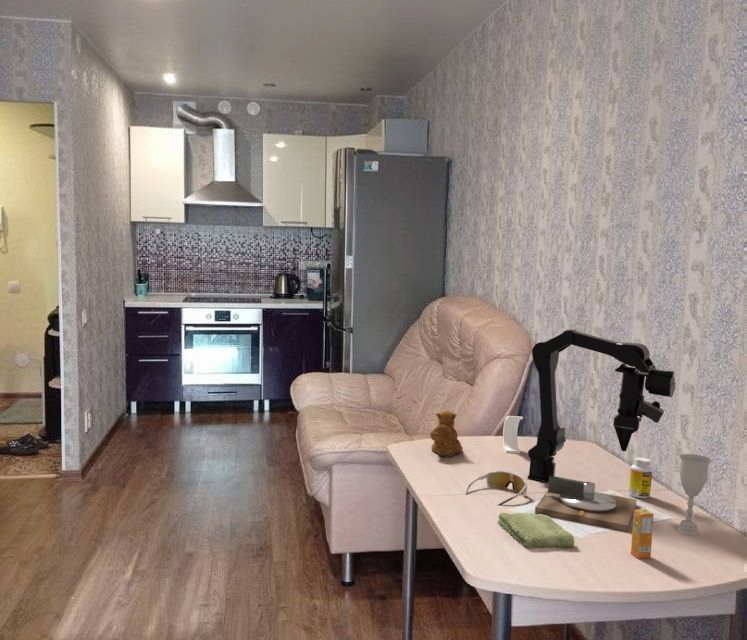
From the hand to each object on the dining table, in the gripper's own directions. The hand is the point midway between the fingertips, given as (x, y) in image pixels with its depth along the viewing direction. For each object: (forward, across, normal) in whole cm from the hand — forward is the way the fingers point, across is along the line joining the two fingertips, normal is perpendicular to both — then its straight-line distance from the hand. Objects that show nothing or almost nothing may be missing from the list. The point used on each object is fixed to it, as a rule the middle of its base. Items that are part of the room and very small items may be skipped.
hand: (625, 447), depth 202 cm
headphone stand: (+15, +30, +37) cm, 49 cm away
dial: (+12, -16, +8) cm, 22 cm away
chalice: (+14, -19, -17) cm, 29 cm away
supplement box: (+14, -41, -8) cm, 44 cm away
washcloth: (+14, -41, +15) cm, 46 cm away
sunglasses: (+15, -18, +30) cm, 38 cm away
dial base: (+14, -16, +7) cm, 22 cm away
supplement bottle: (+14, +4, -5) cm, 15 cm away
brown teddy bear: (+15, +13, +54) cm, 58 cm away
